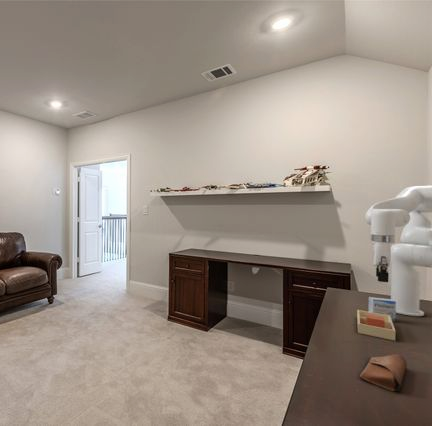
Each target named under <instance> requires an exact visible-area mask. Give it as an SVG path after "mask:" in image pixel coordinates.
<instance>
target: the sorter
mask: <svg viewBox="0 0 432 426" xmlns="http://www.w3.org/2000/svg"><path fill="white" fill-rule="evenodd" d="M356 311H357V314H356V315H357V316H356V319H357V320H356V322H357V333H358V334H361V335H367V336H371V337H375V338H381V339H384V340H385V339H386V340H390V341H394V342H395V341H396V329H395V328H396V327H395V326H394V323H393V321H392V320H391V317H390V315H384V314H378V313H373V312H369V311H365V310H360V309H356ZM367 314H369V315H374V316H380V317H384V320H385V326H384V328H380V327H375V326H370V325H366V316H367Z"/></svg>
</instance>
